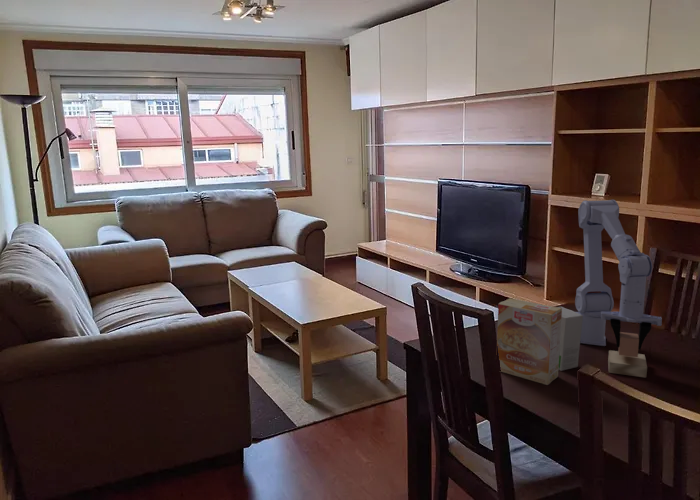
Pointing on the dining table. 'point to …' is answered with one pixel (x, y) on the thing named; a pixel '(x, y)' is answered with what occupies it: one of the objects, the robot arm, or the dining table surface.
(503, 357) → the coffeecake box
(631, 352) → the terracotta block
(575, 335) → the skincare box
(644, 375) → the beech slab
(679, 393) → the dining table surface
